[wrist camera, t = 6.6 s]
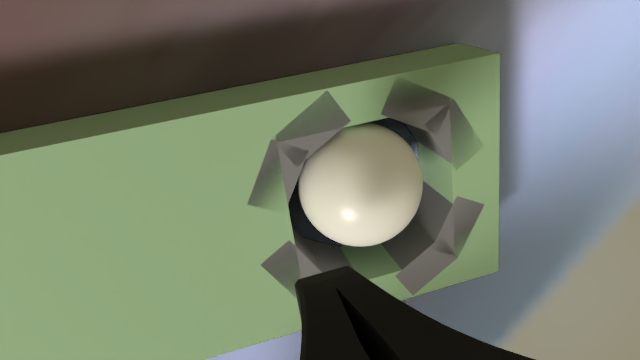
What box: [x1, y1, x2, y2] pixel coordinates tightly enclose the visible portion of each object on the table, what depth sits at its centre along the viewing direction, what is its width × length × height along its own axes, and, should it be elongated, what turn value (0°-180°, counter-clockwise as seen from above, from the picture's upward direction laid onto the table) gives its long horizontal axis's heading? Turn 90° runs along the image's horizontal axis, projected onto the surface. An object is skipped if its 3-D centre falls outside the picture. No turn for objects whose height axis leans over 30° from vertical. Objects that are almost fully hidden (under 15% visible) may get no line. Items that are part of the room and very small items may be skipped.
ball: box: [298, 122, 423, 247], centre depth 17 cm, size 4×4×4 cm
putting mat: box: [0, 43, 500, 360], centre depth 16 cm, size 8×20×2 cm, turn 98°
